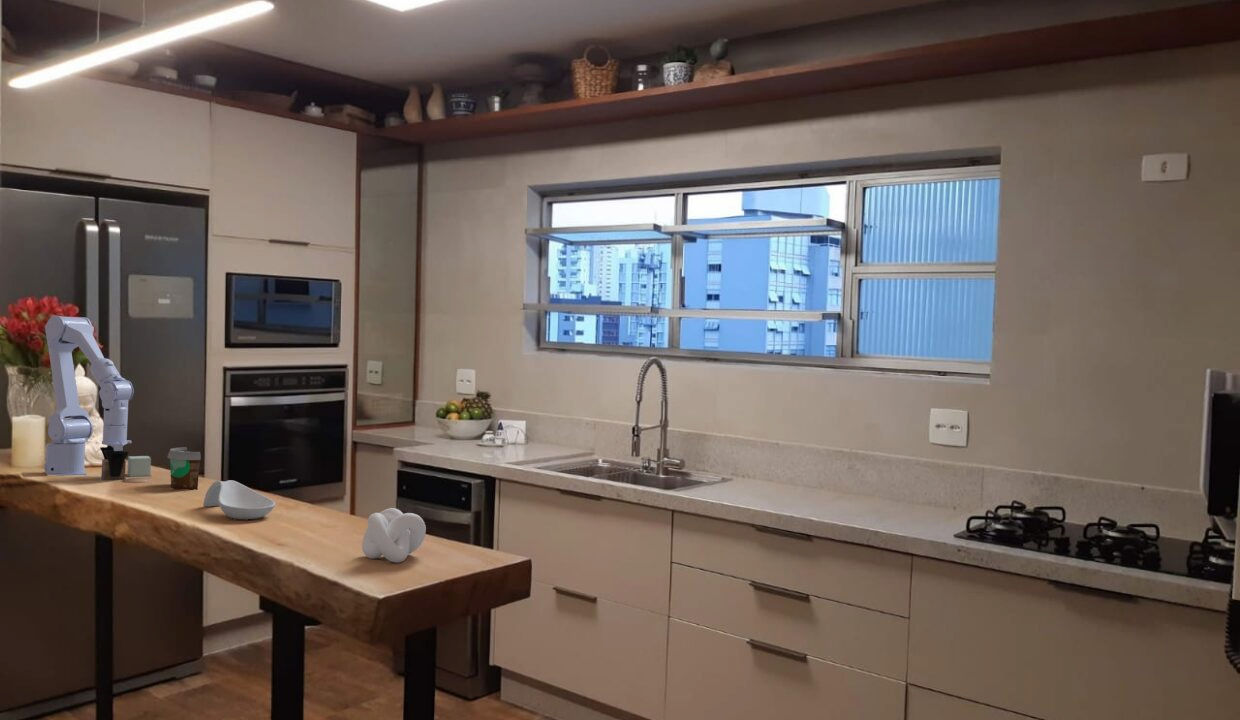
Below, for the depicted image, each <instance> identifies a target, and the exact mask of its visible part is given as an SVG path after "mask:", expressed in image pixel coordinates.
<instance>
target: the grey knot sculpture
mask: <svg viewBox="0 0 1240 720" xmlns="http://www.w3.org/2000/svg"><path fill="white" fill-rule="evenodd" d="M425 523H426V522H425V521H424V519H423V518H422V517H421V516H420V515H418V514H416V513H412V512H406V513H404V512H403V511H401V510H400V509H399V508H394V507H389V508H386V509H384V510H382V511H380V512H374V513H372V514H370V515H369V516H368V518H367V528H366V529H365V532H364V534H363V537H362V538H363V539H362V543H361V546H362V547H361V549H362V553H364V555H365V557H367V558H368V559H371V560H373V559H379V558H381V557H382V556H383V557H384V558H385V559H386V560H388V561H389V562H391V563H395V564H398V563H399V564H401V563H402V562H404V561H405V560H406V559H407V558H408V556H409V555H410V554H412V553H414V552H416V551H417V549H419V548H420V547H421V545H422V544H423V543H424V541H425V537H426V533H427V532H426V531H427V527H426V524H425Z"/></svg>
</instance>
